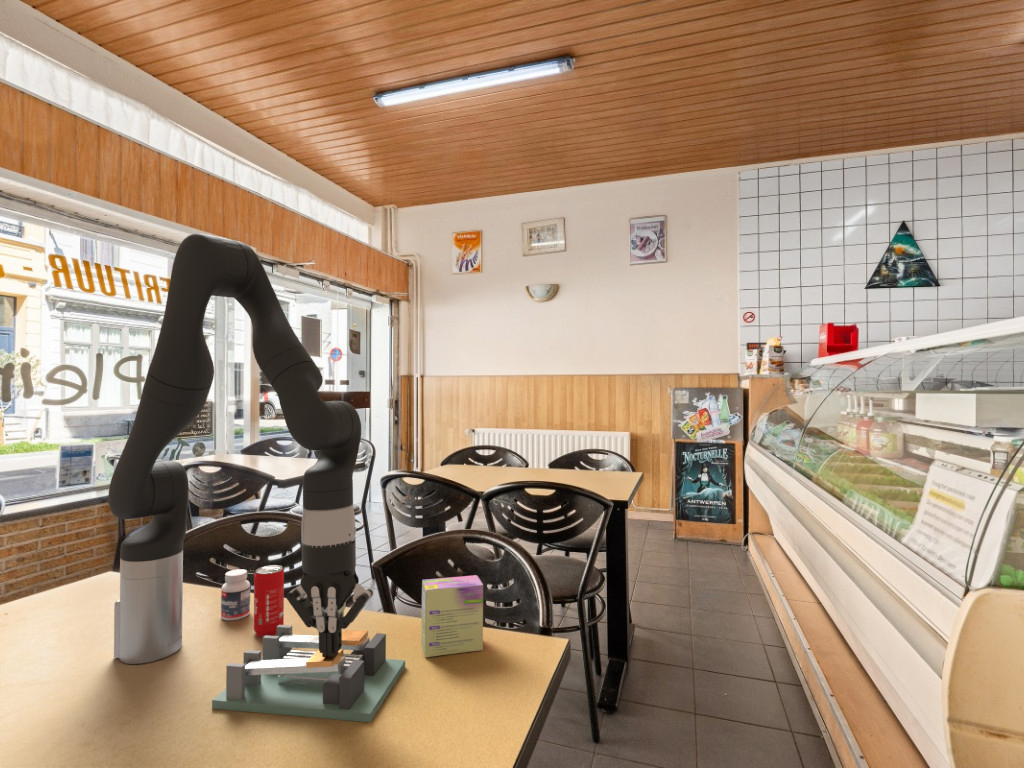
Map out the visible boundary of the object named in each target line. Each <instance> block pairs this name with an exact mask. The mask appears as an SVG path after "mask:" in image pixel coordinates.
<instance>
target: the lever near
mask: <svg viewBox="0 0 1024 768" xmlns="http://www.w3.org/2000/svg"><path fill="white" fill-rule="evenodd" d="M315 652H316V653H315V654H314V655H313V656H312V657H311V658H297V659H276V660H256V661H252V660H247V661H246V662H245V663H244V664H245V675H267V674H289V673H312V672H334V671H339V670H340V669H341V668H342V667H343V665H344V664H345V663H346V661H345V656H343V654H345V653H344V650H343V649H340V650H339V651H338V653H337V654H336V655H335V656H334V657H333V658H330V657H322V653H320V651H319V649H318V650H317V651H315Z"/></svg>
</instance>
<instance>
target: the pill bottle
mask: <svg viewBox="0 0 1024 768" xmlns="http://www.w3.org/2000/svg"><path fill="white" fill-rule="evenodd" d="M224 575H225V576H224V579H225V580H224V583H223V584H222V586H221V590H220V594H221V597H220V618H221V619H222V620H223V621H228V622H229V621H238V620H241V619H244V618H246V617H248V616H249V615H250V612H251V607H250V606H251V583H250V581H249V580H247V578H248V570H247V569H243V568H242V569H241V568H238V569H237V568H236V569H232V570H229V571H227V572H226V573H225V574H224Z"/></svg>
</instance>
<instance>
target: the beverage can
mask: <svg viewBox="0 0 1024 768" xmlns="http://www.w3.org/2000/svg"><path fill="white" fill-rule="evenodd" d="M283 568H284V567H283V566H282V565H279V564H278V565H277V564H272V565H264V566H261V567H258V568H257V569H255V573H254V575H253V581H254V582H253V583H254V584H253V631H254V632H255V635H256V636H257V637H259V638H263V637H264V636H265V635H268V636H277V626H278V625H285V624H284V622H285V621H284V620H285V619H284V615H285V611H284V609H285V607H284V606H285V605H284V604H285V601H284V600H285V571H284V569H283Z"/></svg>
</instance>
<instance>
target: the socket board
mask: <svg viewBox="0 0 1024 768" xmlns="http://www.w3.org/2000/svg"><path fill="white" fill-rule="evenodd" d="M281 633H284V634H289V635H293V625H286V624H284V625H278V626H277V635H275V636H268V635H265V636H264V637H262V650H253V649H252V650H251V649H246V650H245V651H243V663H235V662H234V663H233V662H230V663H228V664H226V668H225V669H226V672H225V674H226V680H225V681H226V682H225V683H226V685H225V686H226V688H225V689H224V690H222V691H221V692H220V693H219V694H218V695H216V696H215V697H214V698H213V699H212V700H211V709H214V710H215V709H216V710H223V711H225V710H227V711H238V712H246V713H247V712H249V713H260V714H271V715H272V714H273V715H284V716H295V717H305V718H317V719H327V720H340V721H350V722H352V721H353V722H363V723H371V722H372V720H373V718H374V717H375V716H376V714H377V713H378V710H379V709H380V707H381V706H382V704H383V703H384V701H385V700H386V699H387V696H389V693H390V692H391V691H392V688H393V687H394V686H395V684H396V682H397V681H398V680H399V678H400V676H401V675H402V674H403V672H404V671H405V668H406V659H394V658H387V655H386V654H387V650H386V649H387V634H386V633H382V632H380V633H378V632H377V633H376V634H374V636H373V637H372V638H371V639H370V642H369V643H368V644H367V645H366V647H365V650H352V651H351V652H350V654H355V655H363V661H361V660H354V661H353V662H352V663H351V664H350V665H349V667H348V668H347V669H346V670H345V671H344V673H343V674H332V676H331V677H330V678H329V679H328V680H327V681H326V682H325V683H324V685H323V687H319V686H306V685H294V684H281V683H278V677H279V674H267V675H245V664H244V663H245V662H246V661H247V660H252V661H256V660H276V659H283V657H284V656H286V654H288V653H290V651H291V650H293V648H288V647H279V636H278V635H279V634H281Z"/></svg>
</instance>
